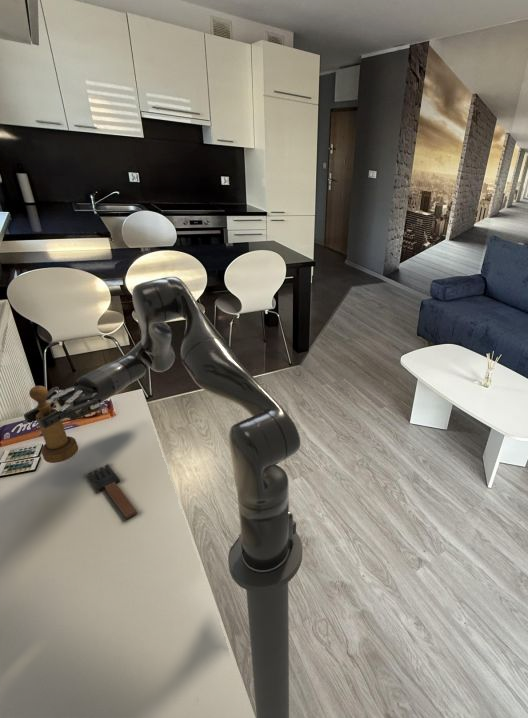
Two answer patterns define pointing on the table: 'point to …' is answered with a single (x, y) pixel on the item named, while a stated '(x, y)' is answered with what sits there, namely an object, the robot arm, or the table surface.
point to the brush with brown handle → (113, 490)
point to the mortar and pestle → (52, 431)
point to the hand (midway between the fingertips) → (34, 421)
